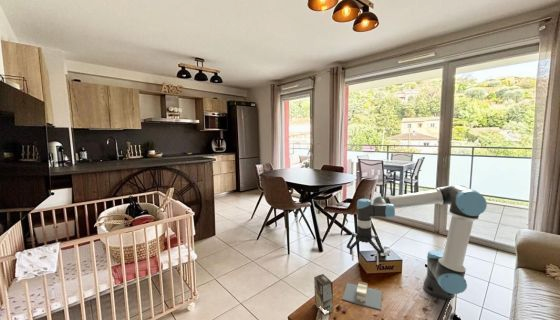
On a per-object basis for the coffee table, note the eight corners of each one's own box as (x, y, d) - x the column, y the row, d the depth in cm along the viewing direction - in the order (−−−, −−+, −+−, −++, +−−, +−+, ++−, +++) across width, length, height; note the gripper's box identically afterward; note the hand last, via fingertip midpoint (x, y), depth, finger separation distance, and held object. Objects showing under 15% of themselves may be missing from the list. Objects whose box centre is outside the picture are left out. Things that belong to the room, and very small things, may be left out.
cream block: (366, 301, 127) (366, 293, 126) (356, 299, 129) (356, 291, 128) (367, 290, 136) (367, 283, 135) (358, 288, 138) (358, 281, 137)
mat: (381, 292, 135) (381, 291, 135) (380, 310, 121) (380, 309, 120) (347, 283, 144) (347, 282, 144) (342, 299, 129) (342, 298, 129)
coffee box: (333, 311, 121) (333, 282, 120) (323, 315, 118) (323, 286, 117) (323, 300, 129) (323, 273, 128) (314, 304, 127) (313, 276, 125)
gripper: (388, 226, 129) (388, 262, 131) (343, 221, 139) (344, 255, 141) (388, 231, 122) (388, 269, 124) (341, 226, 133) (342, 261, 134)
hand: (365, 261), depth 132 cm, fingers open, 13 cm apart
